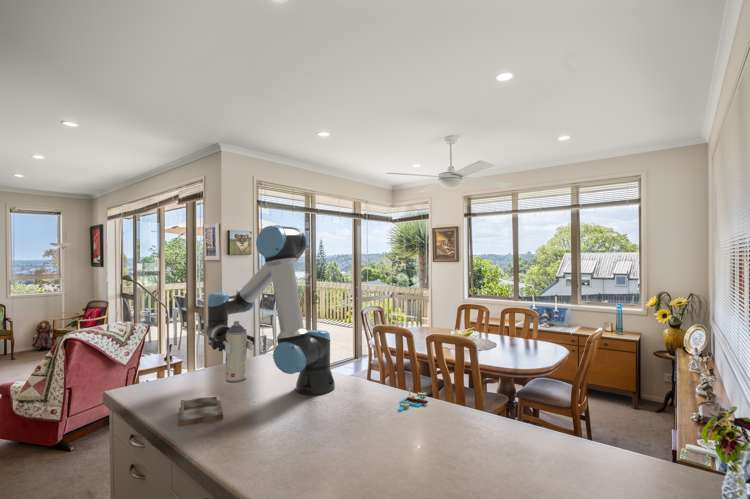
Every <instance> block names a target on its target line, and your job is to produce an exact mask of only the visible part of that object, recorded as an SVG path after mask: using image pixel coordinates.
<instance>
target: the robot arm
mask: <svg viewBox="0 0 750 499" xmlns="http://www.w3.org/2000/svg"><path fill="white" fill-rule="evenodd" d="M307 243H308V242H307V237H306V235H305V234H304V232H303V231H302V230H301V229H299V228H297V227H294V226H291V227H290V226H283V225H279V224H277V225H268V226H265V227H263V228H262V229H261V230H260V232H259V233H258V235H257V237H256V241H255V246H256V251H257V252H258V253H259V254H260V255H261V256H262V257H264V264H263V265H262V266H261V267H260V268H259V269H258V271H257V272H256V273H254V275H253V276H252V277H251V278H250V279H249V280H248V281H247V283H246V284H244V285H243V287H242V288H241V289H240V290H239V291H238V292H237V293H236V294H235V295H229V294H228V293H227V292H211V293H209V294H208V297H207V326H206V328H205V334H206V336H207V338H208V345H209V346H211V349H212V350H218V352H223V351H224V352H225V353H226V352H227V353H230V344H228V343H227V342H226V331H227V330H229V328H230V327H231V326H229V322H228V321H229V315H233V314H238V313H246V312H248V311H251V310H253V308H254V305H255V301H256V300H257V299H258V298H259V297H260V296H261V294H263V293H264V291H265V290H266V289H267V288H268V287H269V286H270V285H272V287H273V293H274V294H273V295H274V299H275V301H274V302H275V306H276V312H277V318H278V325H279V333H278V334H277V336H276V340H277V342H276V343H277V345H276V346H275V347H274V350H273V352H272V359H273V361H274V364H275V367H276V368H277V369H278V370H280V371H281V372H282V373H284V374H287V375H294V374H296V373H298V374H299V375H298V377H297V381H296V384H295V391H296V392H297V393H299V394H303V395H310V396H313V395H317V396H318V395H323V394H328V393H330V392H332V391H333V390H335V388H336V386H335V383H336V382H335V379H334V376H333V373H332V371H331V336H330V332H329V331H327V330H319V329H306V328H305V327H304V321H303V315H302V313H303V312H302V309H301V302H300V295H299V289H298V282H297V276H296V270H295V263H296V262H297V261H298V260H299V259H300V258H301V257H302V256H303V254H304V253H305V251H306V249H307ZM254 346H255V337H254V336H251V335H249V334H247V350H250V351H253V350H254V348H253V347H254Z"/></svg>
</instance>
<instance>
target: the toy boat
mask: <svg viewBox="0 0 750 499" xmlns="http://www.w3.org/2000/svg"><path fill="white" fill-rule="evenodd" d="M408 389H409V390H408V395H407V396H405V397H404V398H402V399H401V400H399V408H397V412H400V413H401V412H403V411H404V410H409V409H410V406H411V407H413V408H420V407H421V406H423V405H426V404H428V403H429V401H428V400H427V399H425V398H426V397H427V395H428V393H427V392H419V391H418V392H417V393H416V396H414V395H411V387H409V388H408ZM422 396H423V397H422Z"/></svg>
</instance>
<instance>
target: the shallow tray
mask: <svg viewBox="0 0 750 499" xmlns="http://www.w3.org/2000/svg"><path fill="white" fill-rule="evenodd" d="M220 399H221V398H220V395H219V394H217V395H210V396H209V395H208V396H203V397H201V396H200V397H196V398H186V399H181V400H180V406H179V407H178V408H179V410H178V419H177V420H178V421H177V426H178V427H183V426H190V425H196V424H203V423H209V422H216V421H220V420H223V419H224V413H223V409H222V408H223V407H222V402H221V400H220Z"/></svg>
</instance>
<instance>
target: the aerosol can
mask: <svg viewBox="0 0 750 499" xmlns="http://www.w3.org/2000/svg"><path fill="white" fill-rule="evenodd" d="M229 327H230V328H229V330H227V331H226V342H227V343H228V344H230V353H227V352H225V382H226V383H230V384H237V383H241V382H245V381H246V380H247V377H248V375H247V374H248V373H247V372H248V370H247V369H248V366H247V365H248V358H247V357H248V355H247V354H248V348H247V335H248V334H247V329H246V328H245V327H243V326H242V325H241V324H240V321H239V320H234V321H233V324H232V325H231V326H229Z"/></svg>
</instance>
